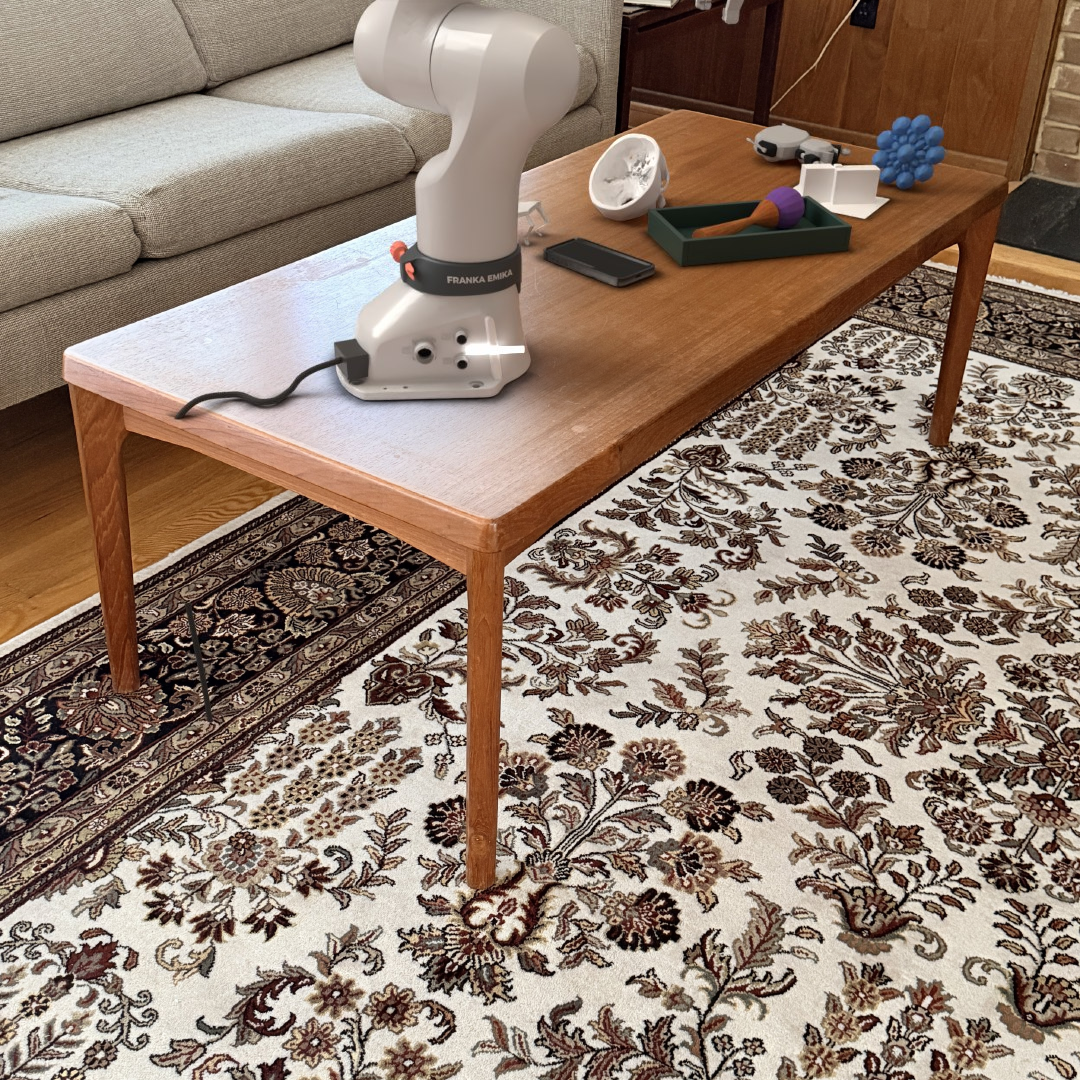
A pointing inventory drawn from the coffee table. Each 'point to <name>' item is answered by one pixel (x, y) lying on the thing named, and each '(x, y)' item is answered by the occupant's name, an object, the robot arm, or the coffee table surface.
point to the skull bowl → (629, 178)
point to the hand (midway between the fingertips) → (716, 15)
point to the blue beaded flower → (909, 151)
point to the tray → (744, 233)
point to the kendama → (764, 214)
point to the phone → (599, 261)
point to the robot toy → (795, 146)
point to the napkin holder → (842, 188)
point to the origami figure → (525, 210)
